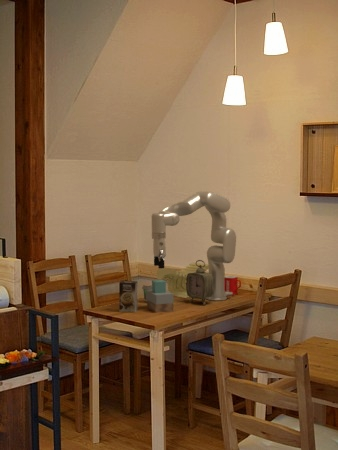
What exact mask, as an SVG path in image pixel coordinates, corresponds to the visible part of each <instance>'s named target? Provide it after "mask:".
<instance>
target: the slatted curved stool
mask: <svg viewBox="0 0 338 450" xmlns="http://www.w3.org/2000/svg"><path fill="white" fill-rule="evenodd" d="M197 265H198V266H200V265H201V266H204V263H201V262H200V263H199V262H197ZM197 265H196V262H192V263H189V264H188V265H187V266H185V267H184V268H183V269H181V270H177V269H174V268H173V269H172V268H166V267H164V268H160V269H159V268H158V269H157V271H156V280H163V281H165V280H166V285H167V289H168V290H167V291H168V292H170V293H173V297H179V298H185V299H187V298H190V297H189V296H188V295H187V291H186V278H187V274H189V273H194V272H196V270H197V269H198V268H200V267H198V266H197ZM202 268H203V269H204V270H205V272H208V271H207V270H209V266H208V263H205V266H204V267H202Z"/></svg>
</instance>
